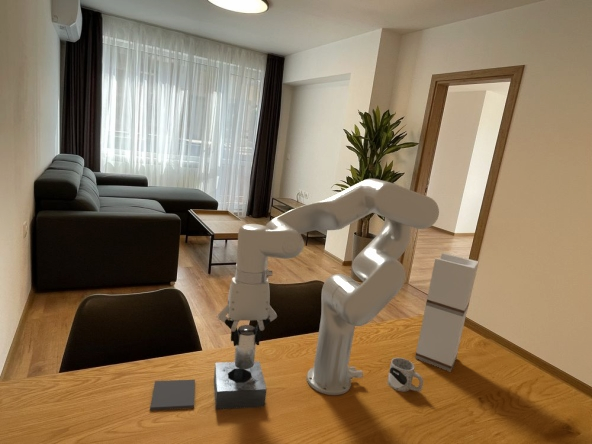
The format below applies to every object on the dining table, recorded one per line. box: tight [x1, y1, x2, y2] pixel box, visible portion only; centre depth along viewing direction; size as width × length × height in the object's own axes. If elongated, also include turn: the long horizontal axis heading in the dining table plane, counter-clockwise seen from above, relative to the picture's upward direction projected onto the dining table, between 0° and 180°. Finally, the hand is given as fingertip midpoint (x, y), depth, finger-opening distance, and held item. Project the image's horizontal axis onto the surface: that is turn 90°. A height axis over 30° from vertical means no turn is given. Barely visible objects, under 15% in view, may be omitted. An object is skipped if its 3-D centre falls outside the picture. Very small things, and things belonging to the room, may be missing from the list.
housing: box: [213, 361, 268, 411], centre depth 98 cm, size 12×12×5 cm
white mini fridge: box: [414, 252, 479, 373], centre depth 125 cm, size 11×11×35 cm
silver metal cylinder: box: [233, 324, 257, 369], centre depth 97 cm, size 5×5×10 cm
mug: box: [387, 357, 424, 393], centre depth 110 cm, size 10×7×7 cm
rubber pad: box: [149, 379, 196, 411], centre depth 95 cm, size 10×10×1 cm
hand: (245, 342), depth 96 cm, fingers closed on silver metal cylinder, 5 cm apart
